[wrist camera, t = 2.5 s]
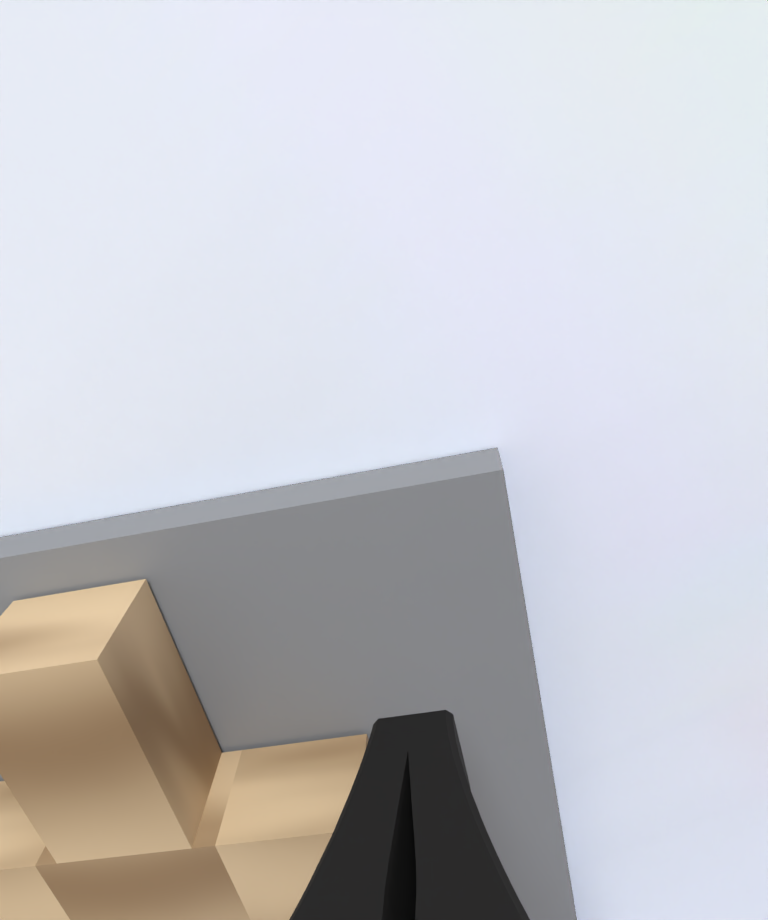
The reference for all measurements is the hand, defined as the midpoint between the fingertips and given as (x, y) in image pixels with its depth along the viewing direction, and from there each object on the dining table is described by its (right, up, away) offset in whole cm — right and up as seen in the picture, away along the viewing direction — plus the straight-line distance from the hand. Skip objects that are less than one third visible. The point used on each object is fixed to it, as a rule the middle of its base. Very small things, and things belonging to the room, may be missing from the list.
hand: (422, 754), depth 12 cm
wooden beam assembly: (-5, -4, +5) cm, 9 cm away
